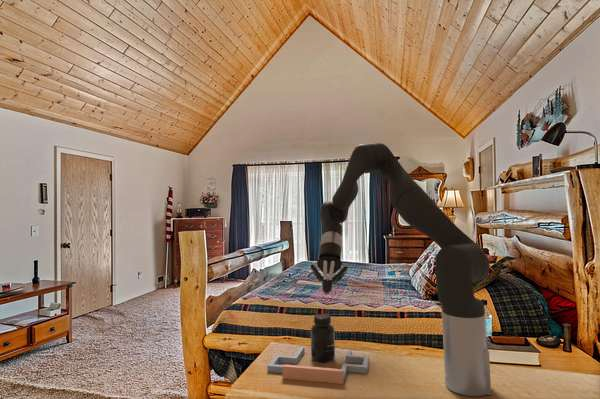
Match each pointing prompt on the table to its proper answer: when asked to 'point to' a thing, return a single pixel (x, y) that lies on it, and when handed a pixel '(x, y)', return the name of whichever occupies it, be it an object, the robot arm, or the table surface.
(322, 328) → the supplement bottle
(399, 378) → the table surface
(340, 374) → the grey zigzag frame
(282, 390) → the table surface
